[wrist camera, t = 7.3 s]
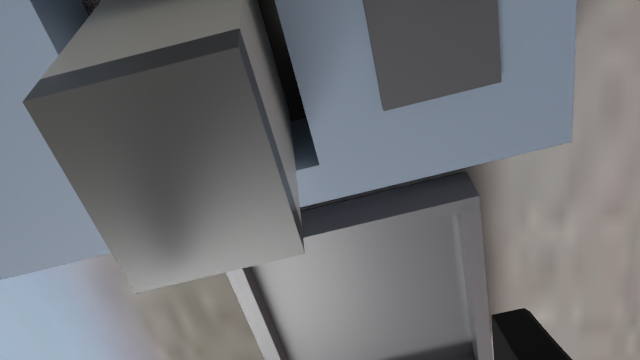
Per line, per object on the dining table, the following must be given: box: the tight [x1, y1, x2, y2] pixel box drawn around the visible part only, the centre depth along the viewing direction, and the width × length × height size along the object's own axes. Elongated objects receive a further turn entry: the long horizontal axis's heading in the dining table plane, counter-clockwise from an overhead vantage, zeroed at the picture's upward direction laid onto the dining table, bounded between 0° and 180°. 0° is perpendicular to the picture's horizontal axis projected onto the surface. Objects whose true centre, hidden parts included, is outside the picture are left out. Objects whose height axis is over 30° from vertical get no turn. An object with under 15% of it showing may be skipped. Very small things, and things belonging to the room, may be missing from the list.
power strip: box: [0, 0, 577, 280], centre depth 15 cm, size 20×9×3 cm, turn 103°
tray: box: [226, 172, 493, 360], centre depth 23 cm, size 9×10×2 cm
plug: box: [23, 0, 305, 294], centre depth 14 cm, size 4×5×7 cm
